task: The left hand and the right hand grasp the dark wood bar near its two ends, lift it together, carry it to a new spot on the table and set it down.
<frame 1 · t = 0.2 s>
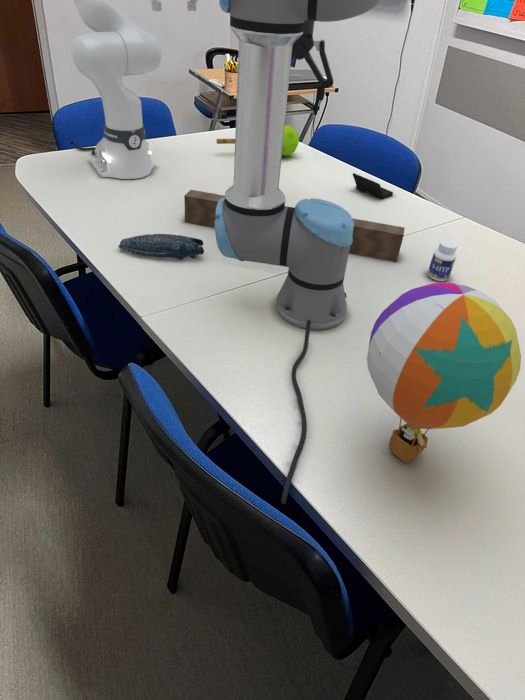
left hand: (174, 10, 120), 48 cm above the table, tool pointing down, fingers open, 8 cm apart
right hand: (289, 110, 135), 28 cm above the table, tool pointing down, fingers open, 13 cm apart
bar: (289, 237, 139), on the table
handheld gaming console: (370, 193, 169), on the table
fish model: (161, 253, 127), on the table
decorative tree: (257, 155, 189), on the table
toy: (403, 453, 83), on the table
pill bottle: (437, 276, 129), on the table
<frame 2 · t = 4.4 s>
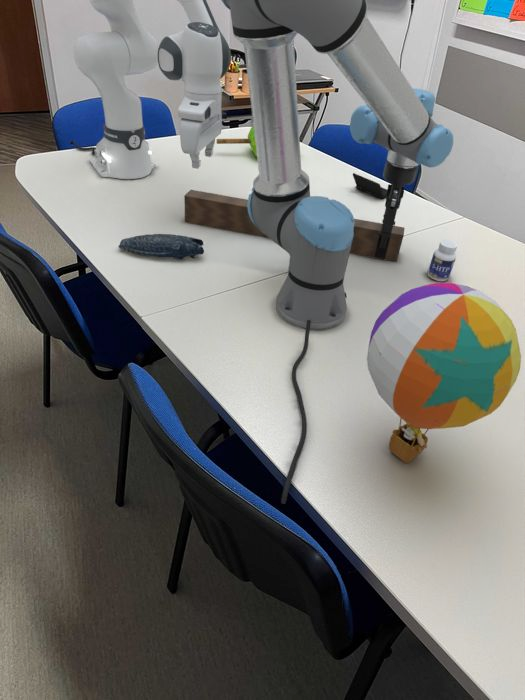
left hand: (202, 161, 133), 16 cm above the table, tool pointing down, fingers open, 8 cm apart
right hand: (380, 252, 135), 1 cm above the table, tool pointing down, fingers closed on bar, 5 cm apart
bar: (289, 237, 139), on the table, touching right hand
everything else where it was.
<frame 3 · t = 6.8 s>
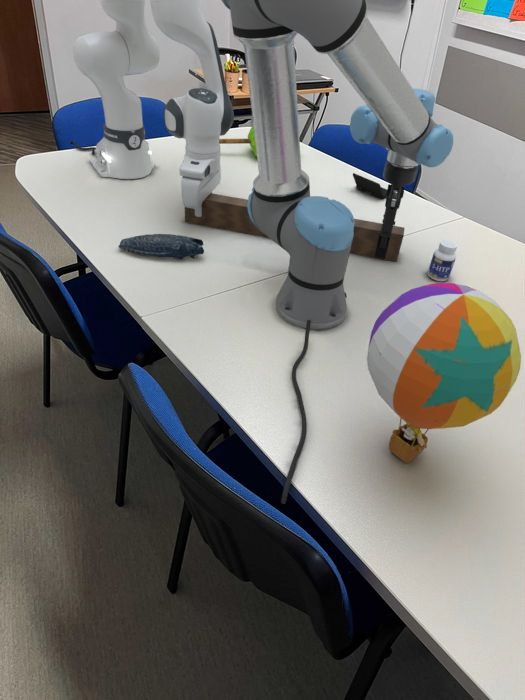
left hand: (202, 211, 141), 3 cm above the table, tool pointing down, fingers closed on bar, 5 cm apart
right hand: (380, 252, 135), 1 cm above the table, tool pointing down, fingers closed on bar, 5 cm apart
bar: (289, 237, 139), on the table, touching right hand, left hand
everything else where it was.
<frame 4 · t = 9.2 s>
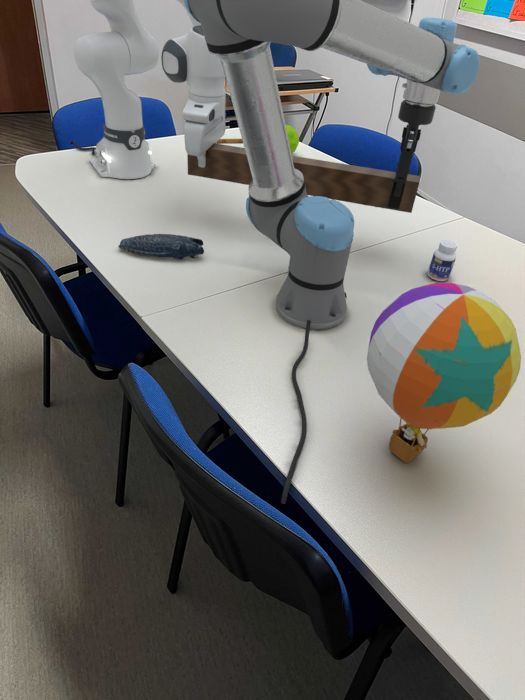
left hand: (206, 162, 134), 16 cm above the table, tool pointing down, fingers closed on bar, 5 cm apart
right hand: (394, 203, 128), 14 cm above the table, tool pointing down, fingers closed on bar, 5 cm apart
bar: (297, 189, 132), point 13 cm above the table, touching right hand, left hand
everything else where it was.
when the right hand's fingers open (2 cm above the table, at t = 14.2 s): bar drops 2 cm, on the table.
when the left hand's fingers open (5 cm above the table, at t = 14.4 s): bar stays where it is, on the table.
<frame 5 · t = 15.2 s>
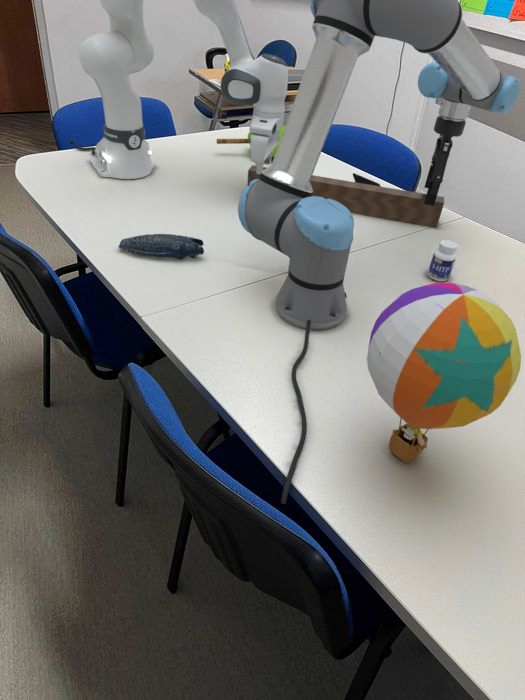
left hand: (263, 168, 157), 8 cm above the table, tool pointing down, fingers open, 8 cm apart
right hand: (428, 196, 149), 8 cm above the table, tool pointing down, fingers open, 13 cm apart
bar: (340, 207, 158), on the table
everything else where it was.
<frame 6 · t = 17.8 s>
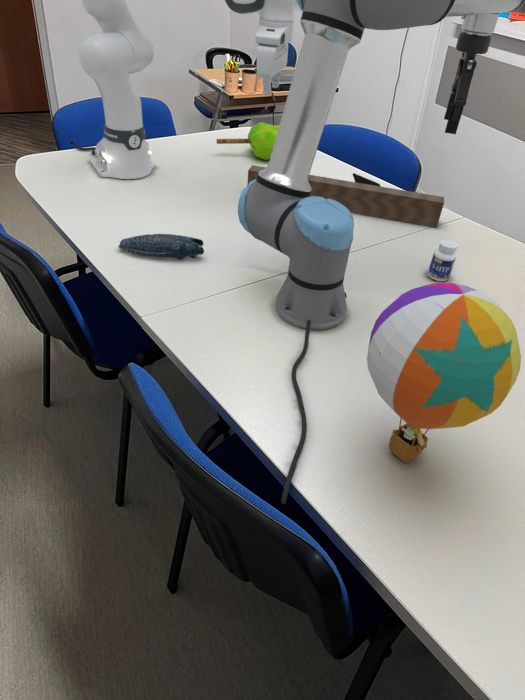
left hand: (271, 90, 143), 29 cm above the table, tool pointing down, fingers open, 8 cm apart
right hand: (449, 126, 137), 27 cm above the table, tool pointing down, fingers open, 13 cm apart
nothing on the table moved.
at the end: bar inside the target area (0.1 cm from its centre), on the table; bar tilted 0°; bar never tilted more than 2° during the clip; both hands held the bar at the same time; the left hand is holding nothing; the right hand is holding nothing; bar at rest at the end (0.0 cm/s) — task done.
